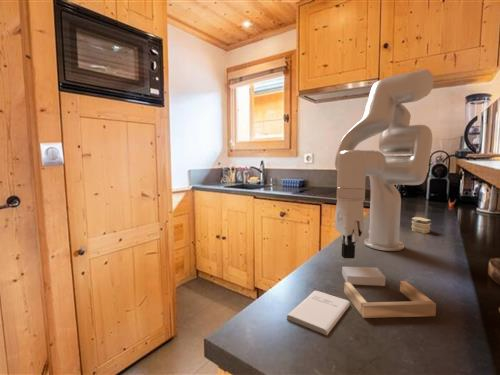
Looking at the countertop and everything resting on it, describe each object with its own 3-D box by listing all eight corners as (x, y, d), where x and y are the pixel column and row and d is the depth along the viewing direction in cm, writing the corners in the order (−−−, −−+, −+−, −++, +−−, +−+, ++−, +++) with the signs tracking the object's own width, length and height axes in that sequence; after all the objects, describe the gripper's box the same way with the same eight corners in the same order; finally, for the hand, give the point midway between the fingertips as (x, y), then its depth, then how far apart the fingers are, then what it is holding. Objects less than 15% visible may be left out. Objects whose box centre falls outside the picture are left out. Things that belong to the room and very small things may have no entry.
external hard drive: (286, 322, 53) (314, 295, 63) (326, 338, 48) (350, 307, 58) (286, 314, 53) (314, 289, 63) (327, 330, 48) (350, 300, 58)
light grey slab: (342, 275, 74) (342, 266, 73) (376, 276, 72) (377, 267, 72) (347, 285, 68) (347, 276, 67) (385, 287, 67) (385, 277, 66)
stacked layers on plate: (438, 233, 112) (439, 220, 111) (425, 236, 108) (425, 222, 108) (415, 227, 121) (415, 215, 120) (401, 230, 117) (402, 217, 117)
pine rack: (344, 292, 63) (344, 282, 63) (404, 290, 64) (405, 280, 63) (363, 317, 53) (363, 305, 53) (435, 316, 54) (436, 304, 53)
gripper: (329, 191, 84) (327, 249, 85) (347, 197, 69) (344, 267, 71) (353, 191, 84) (350, 249, 86) (376, 197, 69) (373, 267, 71)
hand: (347, 257), depth 78 cm, fingers closed
